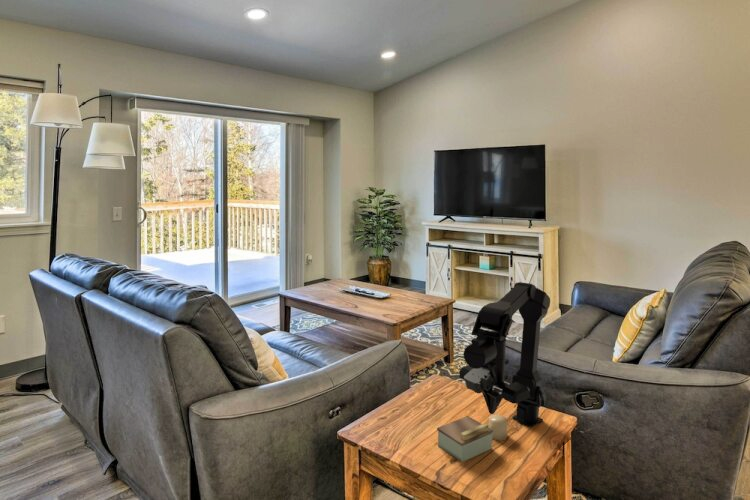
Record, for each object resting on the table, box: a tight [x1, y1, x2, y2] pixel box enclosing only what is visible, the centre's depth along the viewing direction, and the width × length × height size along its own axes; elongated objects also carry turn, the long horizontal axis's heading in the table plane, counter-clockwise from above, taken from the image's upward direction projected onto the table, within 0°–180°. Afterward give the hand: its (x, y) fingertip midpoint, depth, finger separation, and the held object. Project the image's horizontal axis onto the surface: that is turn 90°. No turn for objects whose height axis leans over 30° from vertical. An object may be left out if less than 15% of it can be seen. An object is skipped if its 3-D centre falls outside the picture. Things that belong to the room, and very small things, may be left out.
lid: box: [436, 415, 493, 446], centre depth 122 cm, size 12×9×2 cm
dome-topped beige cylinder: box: [488, 414, 508, 441], centre depth 128 cm, size 5×5×5 cm
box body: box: [437, 430, 493, 463], centre depth 122 cm, size 11×9×4 cm
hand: (491, 413), depth 118 cm, fingers closed
